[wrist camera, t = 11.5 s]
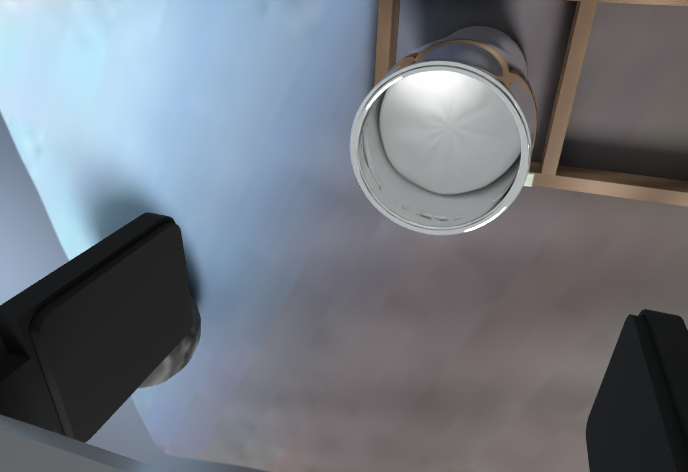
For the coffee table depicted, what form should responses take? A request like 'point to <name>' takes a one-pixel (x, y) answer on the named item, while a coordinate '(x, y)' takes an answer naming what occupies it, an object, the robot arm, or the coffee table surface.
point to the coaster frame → (558, 114)
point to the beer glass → (447, 133)
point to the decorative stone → (177, 353)
